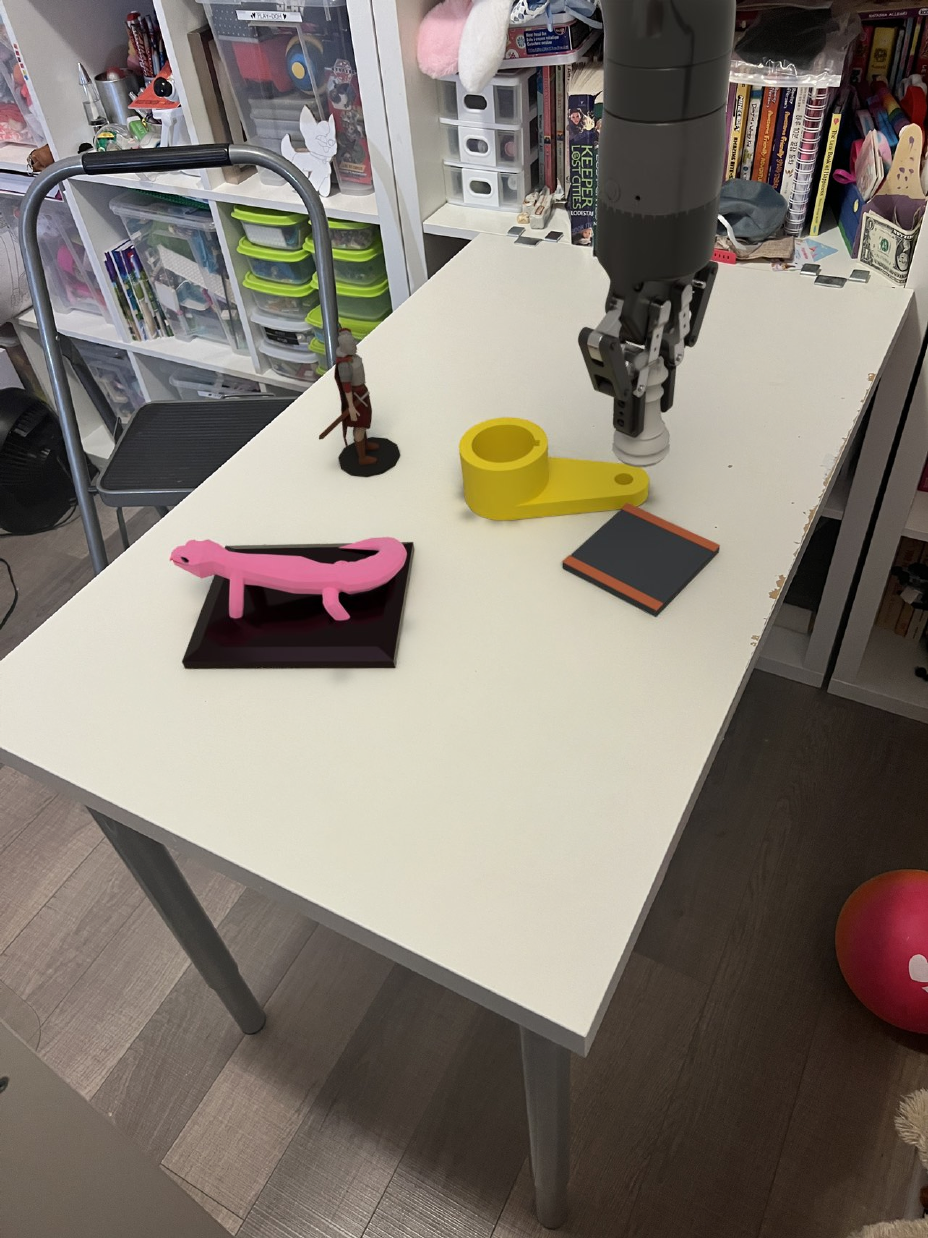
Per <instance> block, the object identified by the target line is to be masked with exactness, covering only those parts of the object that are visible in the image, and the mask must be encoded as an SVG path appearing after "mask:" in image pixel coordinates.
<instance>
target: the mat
mask: <svg viewBox="0 0 928 1238" xmlns="http://www.w3.org/2000/svg"><path fill="white" fill-rule="evenodd" d="M720 547H721V544H719V543H716V542H715V541H712V540H710V539H708V538H705V537H704V536H701V535H699V534H697V533H695V532H692V531H690V530H688V529H686V528H683V527H681V526H679V525H677V524H675V523H673V522H670V521H669V520H666V519H663V518H662V517H659V516H657V515H655V514H653V513H651V512H649V511H646V510H644V509H642V508H640V507H638V506H636V507H635V506H633V505H631V504H629V503H626V504H625V505H624V506H623V507H622V508H621V509H619V510H618V511H617V512H616V513H615V514H614V515H612V517H610V519H608V520H607V521H606V522H605V523H604V524H603V525H602V526H601V527H600V528H599V529H597V530H596V531H595V532H593V534H592V535H590V537H588V538H587V539H586V540H585V541H584V542H583V543H582V544H581V545H579V546H578V547H577V548H576V549H575V550H574V551H573V552H572V553H570V554H568V555H567V556H566V557H565V558H564V559H562V561H561V563H562V564H561V566H562V569H563V570H565V571H566V572H569V573H571V574H572V575H574V576H576V577H578V578H580V579H582V580H584V581H586V582H587V583H590V584H591V585H594V586H595V587H597V588H600V589H601V590H602V591H603V590H604V591H605V592H607V593H609V594H611V595H613V596H615V597H616V598H618V599H621V600H622V601H624V602H626V603H628V604H630V605H632V606H633V607H635V608H638V609H639V610H641V611H643V612H645V613H647V614H649V615H651V616H653V617H655V618H657V617H658V615H660V614H661V613H662V611H664V609H666V607H668V605H669V604H670V603H671V602H672V601H673V600H674V599H675V598H676V597H677V596H678V595H679V594H680V593H681V592H682V591H683V590H684V589H685V588H686V587H687V586H688V585H689V584H690V583H691V582H692V581H693V580H694V578H696V577H697V576H698V574H700V573H701V571H702V570H703V569H705V568H706V566H707V565H708V564H709V563H710V562H711V561H712V560H713V559H714V558H715V557H716V556H717V555H718V554H719V553H720Z"/></svg>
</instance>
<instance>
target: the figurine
mask: <svg viewBox="0 0 928 1238" xmlns="http://www.w3.org/2000/svg"><path fill="white" fill-rule="evenodd" d="M352 333H353V332H352V330H351V329H350V328H349V327H342V328H340V329H338V336H337V343H338V345H339V346H338V347H336V350H335V356H336V360H335V364H334V374H333V375H334V376H333V378H334V381H335V383H336V387H337V389H338V392H339V398H340V415H339V416H338V417H337V418H336V419H335V420H333V422H332V423H330V424H329V426H327V428H325V429H324V430H323V431H322V432H321V433H320V434H319V435H318V440H319V441H320V440H324V439H325V438H326V437H327V436H328V435H329V434H330V433H331V432H332V431H333V430H335V428H337V427H338V426H339V425H340V424H341V428H342V438H343V441H344V446H345V447H343V448H342V451H341V452H340V454H339V456H338V457H337V459H338V462H339V467H340V470H341V471H343V472H345V473H346V474H348V475H349V476H351V477H352V476H353V477H361V478H369V477H373V476H377V475H382V474H384V473H386V472H387V471H389V470H390V469H392V468H394V467H395V466H396V465H397V463H398V462H399V459H400V458H401V452H400V449H399V446H398V444H397V443H396V442H395V441H392V440H391V439H389V438H387V437H379V436H378V437H377V436H370V437H368V433H367V430H369V429H371V427H372V419H373V408H372V402H371V396H370V394H371V393H370V391H369V387H368V386H367V385H366V383H367V381H366V372H365V367H364V363H363V358H362V357H361V356H360V355H359V354H357V353H358V347H357V345H356V339H355V336H354V335H353V334H352ZM348 428H352V437H353V442H351V443H348V439H347V434H348Z"/></svg>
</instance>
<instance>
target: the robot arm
mask: <svg viewBox="0 0 928 1238" xmlns="http://www.w3.org/2000/svg"><path fill="white" fill-rule="evenodd" d="M599 5H600V9H601V17H602V21H603V33H604V35H603V37H604V38H603V77H602V78H603V82H602V83H603V85H602V86H603V87H602V89H603V90H602V113H601V122H600V129H599V134H598V135H599V136H598V143H597V172H596V173H597V175H596V176H597V177H596V179H597V180H596V228H595V229H596V230H595V231H596V232H595V234H596V235H595V238H596V239H595V255H596V259H597V261H598V263H599V264H600V266H601V267H602V269H603V270H604V272H605V273H606V275H607V276H608V279H609V287H608V292H607V295H606V299H605V301H604V302H605V303H604V312H605V316H604V317H603V318H602V319H601V321H600V322H599V324H598V325H597V326H596V327H595V329H594V328H591V327H588V326H584V327H582V329H580V331H579V333H578V337H577V343H578V346H579V347H578V348H579V349H580V353H581V355H582V358H583V361H584V364H585V367H586V369H587V373H588V376H589V379H590V381H591V384H592V387H593V390H594V391H596V392H597V393H601V394H603V395H606V396H609V397H610V398H611V397H612V398H613V402H612V405H613V406H612V408H613V409H612V426H613V429H615V430H617V431H618V432H621V433H623V434H626V435H628V436H630V437H633V438H636V437H637V436H639V435H640V434H641V433H642V432H643V430H644V417H645V402H646V392H645V389H646V385H647V380H648V374H649V368H650V365H651V364H653V363H655V362H656V361H657V360H658V357H660V356H661V357H662V358H663V359H664V366H665V367H666V369H667V370H668V377H667V378H666V379H665V381H664V382H663V383H662V384H661V386H662V388H663V389H664V394H663V395H662V396H661V398H660V409H661V413H665V414H666V413H667V412H668V411H670V409H671V408H673V406H674V398H675V388H676V377H677V367H678V366H680V365H681V364H682V362H683V360H684V358H685V348H686V347H688V348H693V347H695V345H696V343H697V341H698V339H699V335H700V332H701V329H702V327H703V326H702V325H703V323H704V319H705V315H706V312H707V308H708V306H709V302H710V298H711V294H712V291H713V288H714V284H715V281H716V278H717V275H718V271H719V263H718V262H717V261H714V260H711V259H712V258H713V255H714V252H715V248H716V239H717V238H716V236H717V228H718V222H719V221H718V220H719V213H720V203H721V194H722V185H723V177H724V169H725V160H726V152H727V103H728V101H727V100H728V94H729V84H730V77H731V67H732V58H733V50H734V46H733V45H734V40H735V30H736V29H735V28H736V17H737V15H736V14H737V13H736V12H737V1H736V0H599ZM640 346H641V347H640ZM642 346H643V347H642ZM629 362H630V363H632V364H634V366H635V371H634V376H631V375H629V374H628V370H627V366H628V365H627V364H626V363H629Z"/></svg>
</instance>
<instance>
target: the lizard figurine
mask: <svg viewBox="0 0 928 1238" xmlns="http://www.w3.org/2000/svg"><path fill="white" fill-rule="evenodd" d="M414 543H415V542H414V541H400V540H398V539H396V538H394V537H390V536H383V537H370V538H365V539H362V540H359V541H355V542H343V543H342V542H341V543H340V542H336V543H335V542H334V543H292V544H291V543H289V544H288V543H287V544H286V543H285V544H243V545H242V544H241V545H239V544H238V545H237V544H236V545H225V546H224V547H223V546H222V545H221V544H219V543H218V542H215V541H213V540H211V539H208V538H207V539H204V540H196V539H190V540H188V541H186V543H185V545H179V546H177V547H175V548H174V549H173V550H172V551H171V553H170V558H169V562H171V561H172V563H173V564H174V565H175V566H176V567H178V568H180V569H182V570H183V571H186V572H188V573H190V574H192V575H194V576H195V577H198V578H200V579H206V578H208V577H212V576H213V578H212V579H211V583H210V585H209V588H208V591H207V593H206V596H205V599H204V602H203V604H202V607H201V609H200V612H199V615H198V618H197V621H196V623H195V626H194V628H193V630H192V633H191V636H190V638H189V642H188V644H187V646H186V649H185V652H184V654H183V657H182V660H181V664H182V665H183V667H184V669H185V670H190V669H191V670H192V669H193V670H203V669H204V670H205V669H207V670H209V669H211V670H214V669H215V670H217V669H222V670H224V669H225V670H227V669H233V670H234V669H235V670H236V669H237V670H238V669H243V670H245V669H251V670H252V669H254V670H255V669H396V665H397V659H398V653H399V648H400V642H401V641H400V640H401V635H402V630H403V629H402V628H403V623H404V618H405V617H404V616H405V611H406V604H407V597H408V592H409V585H410V581H411V574H412V567H413V561H414V555H415V544H414Z"/></svg>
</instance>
